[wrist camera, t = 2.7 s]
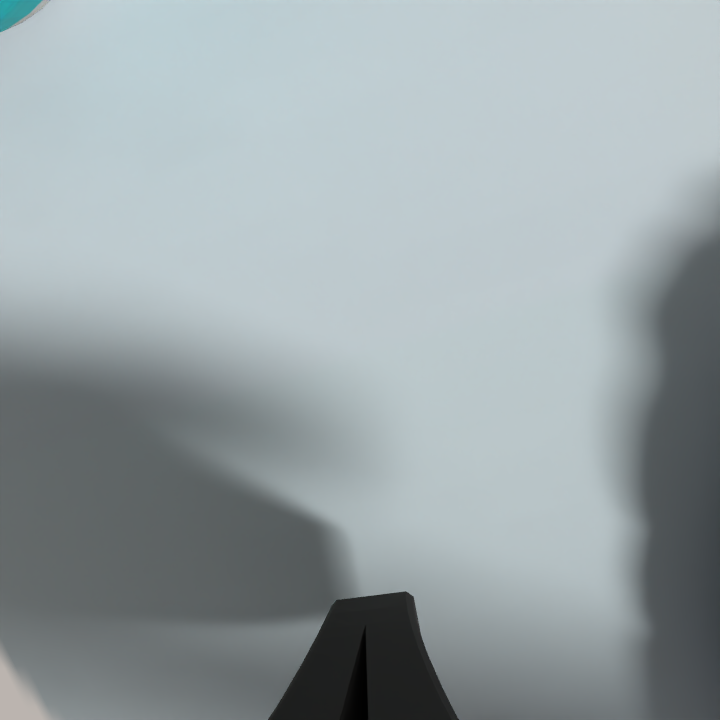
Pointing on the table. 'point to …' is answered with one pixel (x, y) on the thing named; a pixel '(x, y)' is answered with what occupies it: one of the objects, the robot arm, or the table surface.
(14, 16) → the beverage can
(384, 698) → the robot arm
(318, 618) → the table surface
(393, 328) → the table surface
